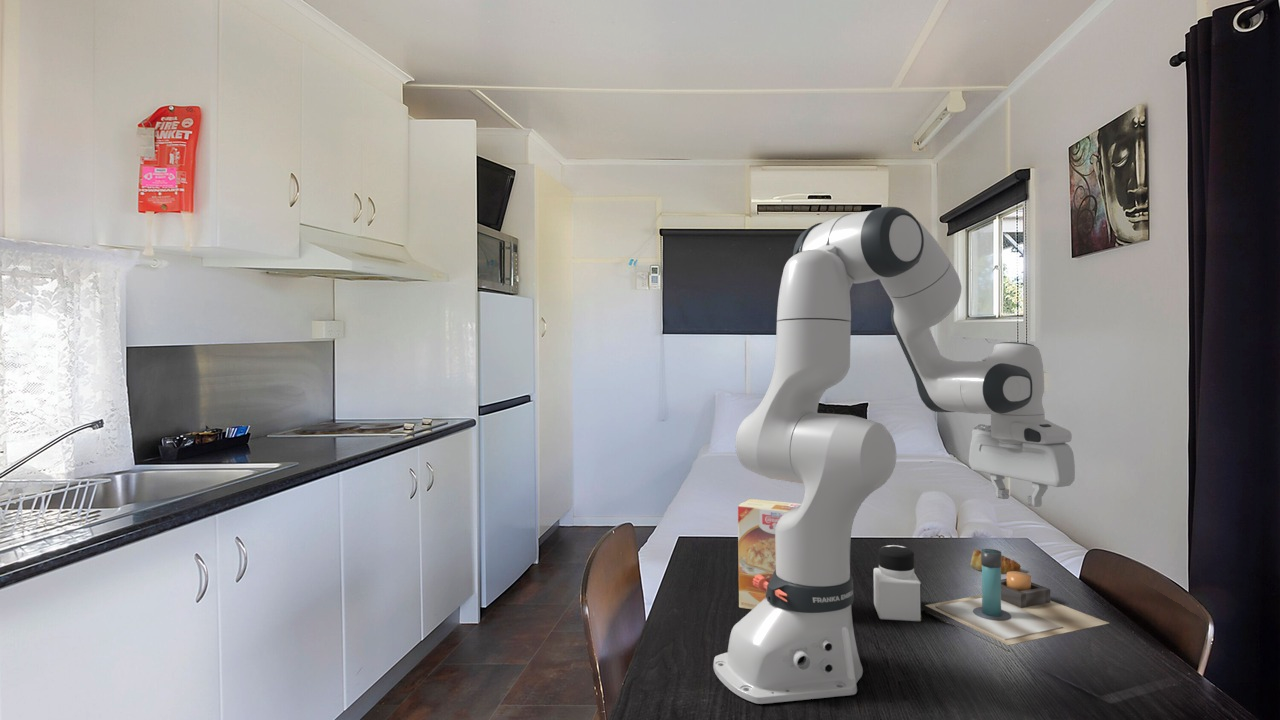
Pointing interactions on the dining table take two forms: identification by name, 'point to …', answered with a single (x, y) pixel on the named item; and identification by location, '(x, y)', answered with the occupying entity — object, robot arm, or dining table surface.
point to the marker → (991, 582)
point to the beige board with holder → (1017, 615)
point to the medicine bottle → (897, 585)
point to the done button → (1019, 580)
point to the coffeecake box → (757, 545)
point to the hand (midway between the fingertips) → (1018, 502)
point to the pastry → (1006, 562)
